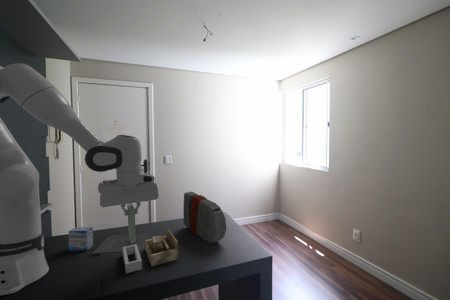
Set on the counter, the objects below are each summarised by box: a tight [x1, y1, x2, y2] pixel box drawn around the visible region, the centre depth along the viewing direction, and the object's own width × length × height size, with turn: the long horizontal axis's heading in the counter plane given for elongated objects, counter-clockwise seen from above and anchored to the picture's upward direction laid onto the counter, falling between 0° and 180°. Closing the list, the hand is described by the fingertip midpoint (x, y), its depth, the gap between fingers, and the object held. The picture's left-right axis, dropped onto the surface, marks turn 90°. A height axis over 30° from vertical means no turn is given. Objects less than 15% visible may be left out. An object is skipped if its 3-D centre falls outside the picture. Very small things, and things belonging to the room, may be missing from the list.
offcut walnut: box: [151, 242, 164, 254], centre depth 87 cm, size 3×7×2 cm, turn 33°
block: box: [126, 203, 137, 244], centre depth 82 cm, size 2×10×12 cm, turn 29°
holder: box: [122, 243, 143, 274], centre depth 83 cm, size 5×14×4 cm, turn 29°
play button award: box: [91, 233, 152, 256], centre depth 98 cm, size 16×2×20 cm
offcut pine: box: [151, 235, 162, 248], centre depth 87 cm, size 3×6×2 cm, turn 24°
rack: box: [144, 228, 179, 267], centre depth 88 cm, size 10×14×8 cm
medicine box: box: [68, 226, 94, 252], centre depth 95 cm, size 8×4×9 cm, turn 93°
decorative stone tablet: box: [182, 191, 227, 244], centre depth 105 cm, size 19×6×30 cm
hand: (131, 214), depth 82 cm, fingers closed on block, 2 cm apart
